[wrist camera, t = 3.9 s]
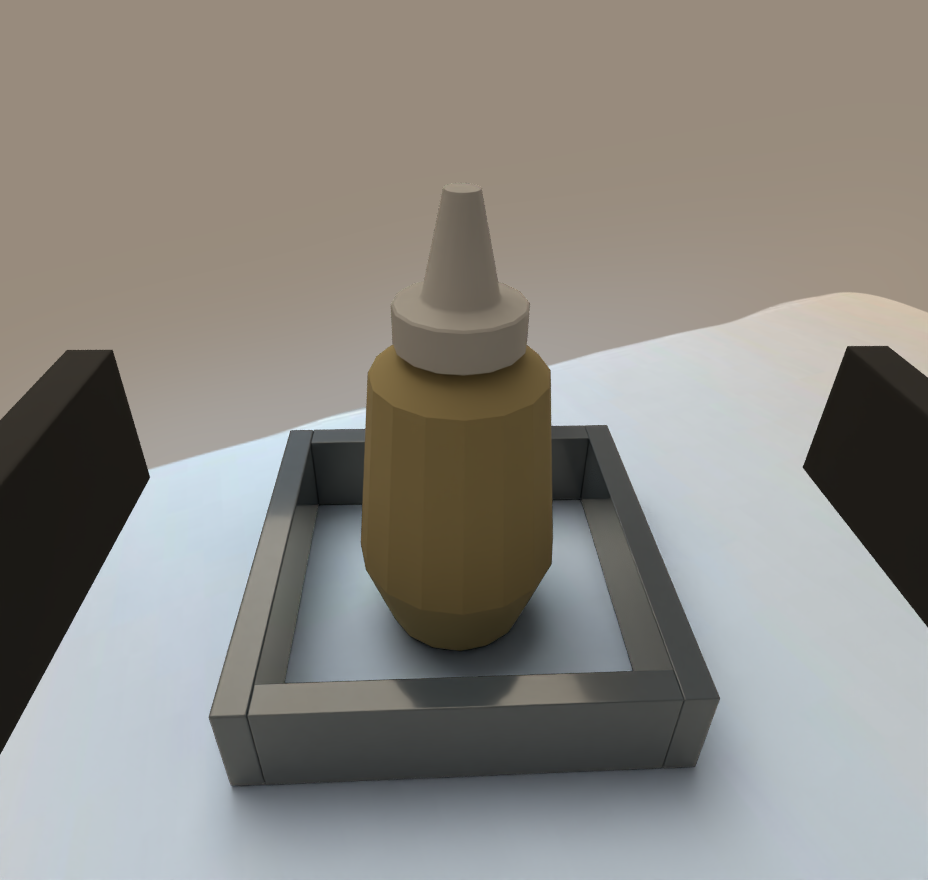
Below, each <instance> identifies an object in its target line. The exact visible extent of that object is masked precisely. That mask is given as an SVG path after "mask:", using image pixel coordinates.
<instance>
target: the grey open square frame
mask: <svg viewBox="0 0 928 880" xmlns="http://www.w3.org/2000/svg"><path fill="white" fill-rule="evenodd" d="M551 445H552V500H554V499H580V498H581V501H582V505H583V508H584V511H585V515H586V518H587V521H588V524H589V528H590V531H591V534H592V538H593V541H594V544H595V547H596V551H597V554H598V557H599V560H600V564H601V567H602V570H603V574H604V577H605V580H606V583H607V587H608V590H609V593H610V596H611V600H612V603H613V606H614V610H615V613H616V616H617V619H618V623H619V626H620V629H621V632H622V636H623V639H624V642H625V646H626V649H627V652H628V655H629V659H630V662H631V665H632V669H633V671H622V672H593V673H565V674H536V675H507V676H478V677H450V678H421V679H392V680H364V681H335V682H306V683H284V682H285V677H286V672H287V667H288V662H289V656H290V651H291V646H292V641H293V636H294V630H295V625H296V620H297V615H298V610H299V604H300V599H301V594H302V589H303V584H304V578H305V573H306V568H307V563H308V558H309V552H310V547H311V542H312V537H313V532H314V526H315V521H316V516H317V511H318V506H319V504H320V505H322V504H362V503H363V478H364V454H365V429H335V430H314V431H313V430H292V431H290V434H289V437H288V441H287V444H286V448H285V451H284V455H283V458H282V462H281V465H280V469H279V472H278V476H277V479H276V483H275V486H274V490H273V493H272V497H271V500H270V504H269V507H268V511H267V514H266V518H265V521H264V525H263V528H262V532H261V535H260V539H259V542H258V546H257V549H256V553H255V556H254V560H253V563H252V567H251V570H250V574H249V578H248V581H247V585H246V588H245V592H244V595H243V599H242V602H241V606H240V609H239V613H238V616H237V620H236V623H235V627H234V630H233V634H232V637H231V641H230V644H229V648H228V651H227V655H226V658H225V662H224V665H223V669H222V672H221V676H220V679H219V683H218V686H217V690H216V693H215V697H214V700H213V704H212V707H211V711H210V714H209V720H210V723H211V726H212V729H213V732H214V736H215V739H216V742H217V745H218V748H219V751H220V754H221V757H222V760H223V763H224V766H225V770H226V773H227V776H228V779H229V782H230V785H231V786H243V785H263V784H266V785H275V784H298V783H322V782H346V781H369V780H393V779H416V778H440V777H464V776H487V775H511V774H535V773H558V772H582V771H605V770H629V769H653V768H662V767H663V768H678V767H695V766H696V763H697V760H698V758H699V755H700V752H701V749H702V747H703V744H704V741H705V738H706V736H707V733H708V730H709V727H710V725H711V722H712V719H713V717H714V714H715V711H716V708H717V706H718V703H719V700H720V697H719V695H718V692H717V690H716V687H715V685H714V683H713V680H712V678H711V675H710V673H709V671H708V668H707V666H706V663H705V661H704V658H703V656H702V654H701V651H700V649H699V646H698V644H697V642H696V639H695V637H694V634H693V632H692V629H691V627H690V625H689V622H688V620H687V617H686V615H685V613H684V610H683V608H682V605H681V603H680V600H679V598H678V596H677V593H676V591H675V588H674V586H673V584H672V581H671V579H670V576H669V574H668V571H667V569H666V567H665V564H664V562H663V559H662V557H661V554H660V552H659V550H658V547H657V545H656V542H655V540H654V538H653V535H652V533H651V530H650V528H649V525H648V523H647V521H646V518H645V516H644V513H643V511H642V509H641V506H640V504H639V501H638V499H637V496H636V494H635V492H634V489H633V487H632V484H631V482H630V480H629V477H628V475H627V472H626V470H625V467H624V465H623V463H622V460H621V458H620V455H619V453H618V451H617V448H616V446H615V443H614V441H613V438H612V436H611V434H610V431H609V429H608V426H607V425H586V426H551Z"/></svg>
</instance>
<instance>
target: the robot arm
mask: <svg viewBox="0 0 928 880" xmlns="http://www.w3.org/2000/svg"><path fill="white" fill-rule="evenodd" d="M803 469H804V470H805V471H806V472H807V474H808V475H809V476H810V478H811V479H812V480H813V481H814V483H815V484H816V485H817V486H818V488H819V489H820V490H821V492H822V493H823V494H824V495H825V497H826V498H827V499H828V501H829V502H830V503H831V504H832V506H833V507H834V508H835V509H836V511H837V512H838V513H839V515H840V516H841V517H842V518H843V520H844V521H845V522H846V523H847V525H848V526H849V527H850V529H851V530H852V531H853V532H854V534H855V535H856V536H857V538H858V539H859V540H860V541H861V543H862V544H863V545H864V546H865V548H866V549H867V550H868V552H869V553H870V554H871V555H872V557H873V558H874V559H875V561H876V562H877V563H878V564H879V566H880V567H881V568H882V569H883V571H884V572H885V573H886V575H887V576H888V577H889V578H890V580H891V581H892V582H893V584H894V585H895V586H896V587H897V589H898V590H899V591H900V592H901V594H902V595H903V596H904V598H905V599H906V600H907V601H908V603H909V604H910V605H911V607H912V608H913V609H914V610H915V612H916V613H917V614H918V615H919V617H920V618H921V619H922V621H923V622H924V623H925V624H926V626H927V627H928V377H926V376H925V375H924V374H922V373H921V372H920V371H919V370H917V369H916V368H915V367H914V366H912V365H911V364H910V363H908V362H907V361H906V360H905V359H903V358H902V357H901V356H900V355H898V354H897V353H896V352H894V351H893V350H892V349H891V348H889V347H888V346H847V349H846V351H845V354H844V357H843V359H842V362H841V365H840V368H839V370H838V373H837V376H836V379H835V381H834V384H833V387H832V389H831V392H830V395H829V398H828V400H827V403H826V406H825V408H824V411H823V414H822V417H821V419H820V422H819V425H818V427H817V430H816V433H815V436H814V438H813V441H812V444H811V446H810V449H809V452H808V455H807V457H806V460H805V463H804V465H803ZM149 478H150V476H149V472H148V469H147V465H146V462H145V459H144V455H143V452H142V448H141V445H140V441H139V438H138V435H137V432H136V428H135V424H134V421H133V418H132V415H131V411H130V408H129V404H128V401H127V397H126V394H125V391H124V387H123V384H122V381H121V377H120V373H119V370H118V367H117V363H116V360H115V357H114V353H113V350H67V351H66V352H65V353H64V354H63V355H62V356H61V357H60V358H59V359H58V360H57V361H56V362H55V363H54V365H52V366H51V367H50V368H49V369H48V370H47V372H46V373H45V374H44V375H43V376H42V377H41V378H40V379H39V380H38V381H37V382H36V383H35V384H34V385H33V386H32V388H30V389H29V391H28V392H27V393H26V394H25V395H24V396H23V397H22V398H21V399H20V400H19V401H18V402H17V403H16V404H15V405H14V406H13V407H12V408H11V409H10V411H9V412H8V413H7V414H6V415H5V416H4V417H3V418H2V419H1V420H0V754H1V752H2V750H3V748H4V747H5V745H6V743H7V741H8V739H9V737H10V736H11V734H12V732H13V730H14V728H15V726H16V724H17V723H18V721H19V719H20V717H21V715H22V713H23V711H24V710H25V708H26V706H27V704H28V702H29V700H30V699H31V697H32V695H33V693H34V691H35V689H36V687H37V686H38V684H39V682H40V680H41V678H42V676H43V675H44V673H45V671H46V669H47V667H48V665H49V663H50V662H51V660H52V658H53V656H54V654H55V652H56V650H57V649H58V647H59V645H60V643H61V641H62V639H63V638H64V636H65V634H66V632H67V630H68V628H69V626H70V625H71V623H72V621H73V619H74V617H75V615H76V613H77V612H78V610H79V608H80V606H81V604H82V602H83V601H84V599H85V597H86V595H87V593H88V591H89V589H90V588H91V586H92V584H93V582H94V580H95V578H96V576H97V575H98V573H99V571H100V569H101V567H102V565H103V564H104V562H105V560H106V558H107V556H108V554H109V552H110V551H111V549H112V547H113V545H114V543H115V541H116V540H117V538H118V536H119V534H120V532H121V530H122V528H123V527H124V525H125V523H126V521H127V519H128V517H129V515H130V514H131V512H132V510H133V508H134V506H135V504H136V503H137V501H138V499H139V497H140V495H141V493H142V491H143V490H144V488H145V486H146V484H147V482H148V480H149Z"/></svg>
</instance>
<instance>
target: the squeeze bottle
mask: <svg viewBox="0 0 928 880" xmlns="http://www.w3.org/2000/svg"><path fill="white" fill-rule="evenodd" d="M529 308H530V303H529V302H528V300H527V299H526V298H525V297H524V296H523V295H522V293H521V292H520V291H518V290H516V289H514V288H512V287H510V286H508V285H506V284H504V283H499V282H498V279H497V274H496V267H495V261H494V256H493V250H492V245H491V239H490V233H489V228H488V222H487V216H486V211H485V205H484V199H483V194H482V188H481V187H480V186H478V185H475V184H469V183H453V184H448V185H446V186H444V187H443V190H442V195H441V201H440V205H439V210H438V215H437V220H436V225H435V229H434V234H433V239H432V244H431V249H430V254H429V259H428V264H427V269H426V274H425V279H424V281H423V282H419V283H415V284H412V285H411V286H409V287H407V288H405V289H403V290H402V291H400V292H398V293H397V295H396V296H395V298H394V300H393V301H392V303H391V320H392V342H393V345H391V346H390V347H388V348H387V349H386V350H384V351H383V352H382V353H380V354H379V355H378V356H377V357H376V358H375V361H374V362H373V364H372V366H371V368H370V370H369V372H368V380H367V405H366V429H365V454H364V478H363V503H362V528H361V547H362V552H363V557H364V562H365V567H366V570H367V572H368V574H369V575H370V577H371V579H372V581H373V582H374V584H375V586H376V587H377V589H378V591H379V592H380V594H381V596H382V597H383V599H384V601H385V602H386V604H387V606H388V607H389V609H390V611H391V612H392V614H393V616H394V618H395V619H396V620H397V621H398V623H399V624H400V625H401V626H402V627H403V628H404V630H405V631H406V632H407V633H408V634H409V635H410V636H411V637H413V638H415V639H417V640H419V641H421V642H423V643H425V644H427V645H429V646H431V647H433V648H441V649H449V650H457V651H462V650H467V649H472V648H477V647H482V646H487V645H489V644H490V643H492V642H493V641H495V640H497V639H498V638H500V637H502V636H503V635H505V634H506V633H508V632H509V630H510V629H511V627H512V626H513V625H514V623H515V622H516V620H517V619H518V617H519V616H520V614H521V612H522V611H523V609H524V608H525V606H526V604H527V603H528V601H529V600H530V598H531V596H532V595H533V593H534V592H535V590H536V588H537V587H538V585H539V583H540V582H541V580H542V579H543V577H544V575H545V574H546V572H547V571H548V569H549V567H550V566H551V564H552V544H553V518H552V445H551V372H550V369H549V368H548V366H547V365H546V364H545V362H544V361H543V360H542V359H541V357H540V356H539V355H538V354H537V353H536V352H535V351H534V350H532V349H531V348H530V347H529V346H527V336H528V322H529Z"/></svg>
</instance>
